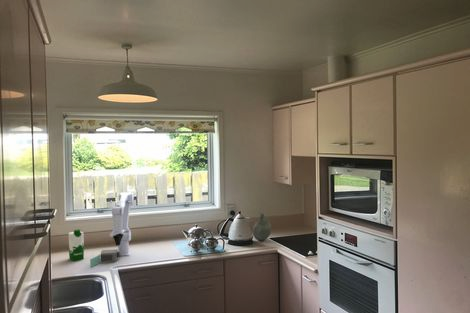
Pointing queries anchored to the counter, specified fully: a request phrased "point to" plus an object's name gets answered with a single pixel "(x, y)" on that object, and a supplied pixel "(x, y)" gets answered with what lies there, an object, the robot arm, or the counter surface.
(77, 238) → the milk carton
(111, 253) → the camera body
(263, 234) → the flask
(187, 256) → the counter surface
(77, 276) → the counter surface
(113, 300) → the counter surface
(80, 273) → the counter surface
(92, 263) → the side door
